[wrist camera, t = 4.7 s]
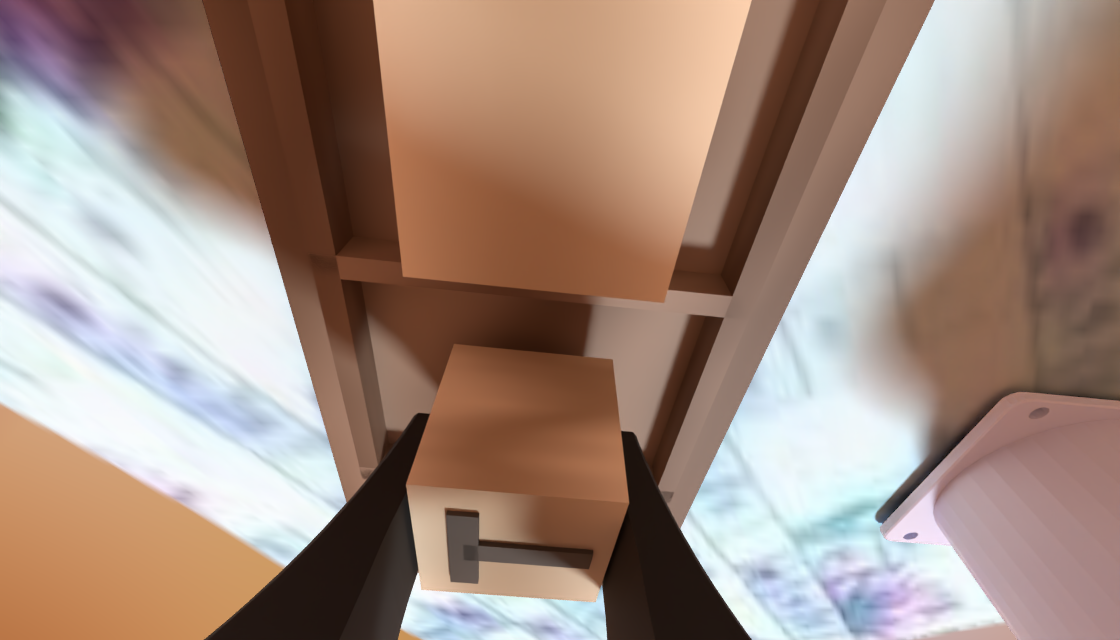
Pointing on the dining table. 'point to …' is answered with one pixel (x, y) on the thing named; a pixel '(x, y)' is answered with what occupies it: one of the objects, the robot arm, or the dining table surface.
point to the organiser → (533, 315)
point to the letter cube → (519, 476)
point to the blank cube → (551, 136)
